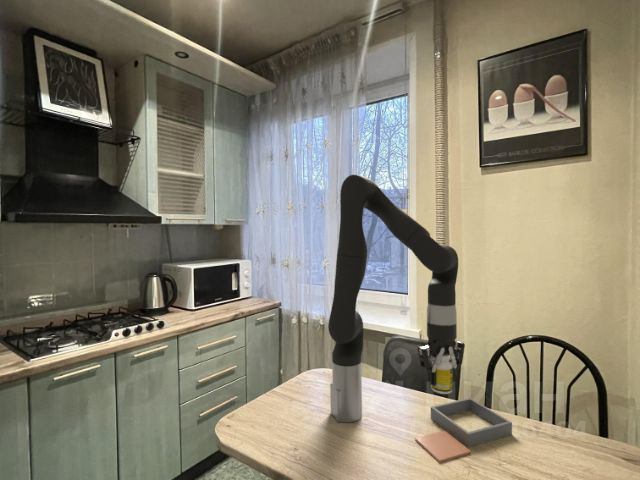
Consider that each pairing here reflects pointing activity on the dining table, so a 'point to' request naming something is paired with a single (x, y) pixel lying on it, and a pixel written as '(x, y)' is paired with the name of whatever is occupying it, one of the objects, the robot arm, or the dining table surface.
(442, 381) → the supplement bottle
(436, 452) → the tile
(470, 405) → the bin
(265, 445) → the dining table surface
